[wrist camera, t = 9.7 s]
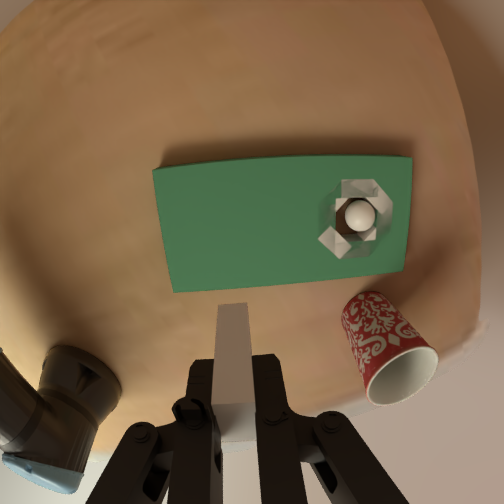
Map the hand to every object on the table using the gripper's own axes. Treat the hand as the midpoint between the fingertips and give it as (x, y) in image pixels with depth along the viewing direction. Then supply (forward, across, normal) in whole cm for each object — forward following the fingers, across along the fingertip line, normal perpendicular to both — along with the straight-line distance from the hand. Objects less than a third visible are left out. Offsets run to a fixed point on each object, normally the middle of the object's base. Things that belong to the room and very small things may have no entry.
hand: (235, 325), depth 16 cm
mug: (+19, +17, -16) cm, 30 cm away
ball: (+17, +14, 0) cm, 22 cm away
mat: (+19, +6, 0) cm, 20 cm away
